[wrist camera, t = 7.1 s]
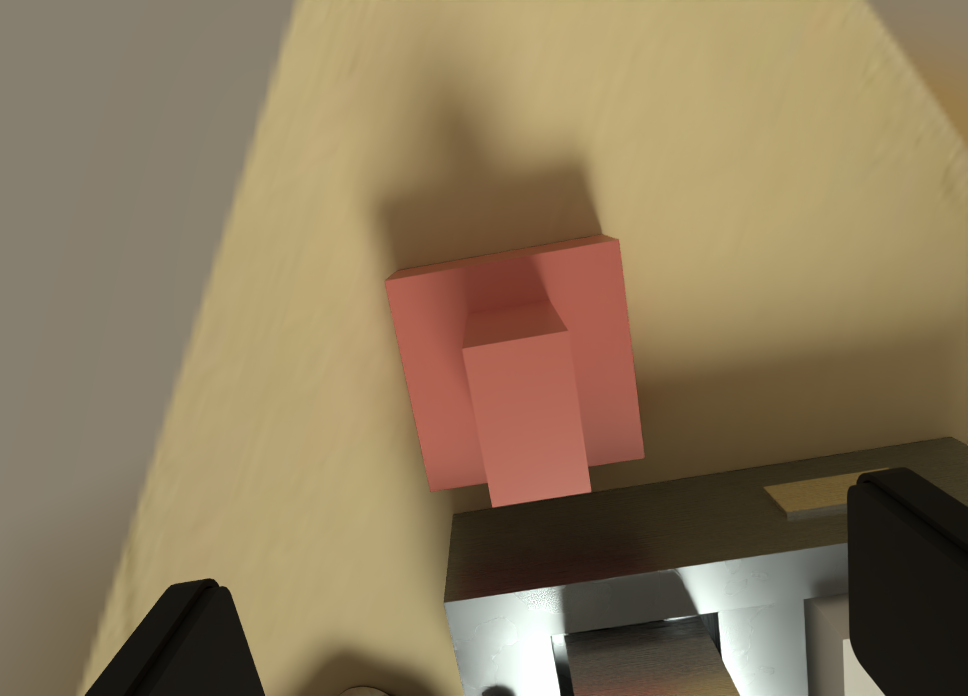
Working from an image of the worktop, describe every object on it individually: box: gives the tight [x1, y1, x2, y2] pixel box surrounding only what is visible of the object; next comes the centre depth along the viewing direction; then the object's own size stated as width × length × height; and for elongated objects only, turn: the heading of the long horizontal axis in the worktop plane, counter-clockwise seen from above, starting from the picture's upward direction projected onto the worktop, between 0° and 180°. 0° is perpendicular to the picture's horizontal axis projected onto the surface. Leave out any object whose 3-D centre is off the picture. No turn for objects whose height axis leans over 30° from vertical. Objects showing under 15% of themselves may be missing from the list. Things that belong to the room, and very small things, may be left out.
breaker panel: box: [444, 437, 968, 696], centre depth 23 cm, size 10×22×10 cm, turn 100°
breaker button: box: [803, 593, 885, 696], centre depth 22 cm, size 5×5×4 cm
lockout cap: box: [385, 234, 645, 507], centre depth 21 cm, size 8×8×8 cm
